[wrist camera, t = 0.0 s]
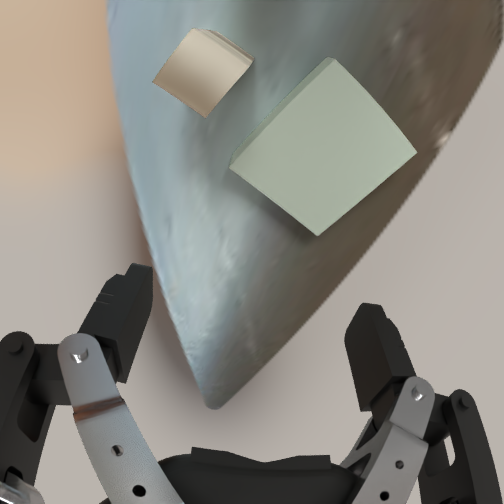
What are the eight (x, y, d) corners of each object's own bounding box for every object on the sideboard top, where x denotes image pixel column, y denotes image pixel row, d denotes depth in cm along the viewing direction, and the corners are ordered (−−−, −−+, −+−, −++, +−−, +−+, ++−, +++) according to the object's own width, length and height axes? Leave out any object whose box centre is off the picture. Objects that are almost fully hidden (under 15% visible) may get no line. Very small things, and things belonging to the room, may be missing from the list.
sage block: (326, 56, 24) (335, 59, 20) (402, 138, 28) (417, 152, 25) (232, 152, 31) (228, 167, 28) (313, 215, 35) (317, 236, 32)
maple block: (216, 31, 22) (192, 28, 14) (254, 58, 24) (249, 67, 16) (187, 66, 24) (152, 81, 17) (224, 92, 26) (205, 118, 19)
